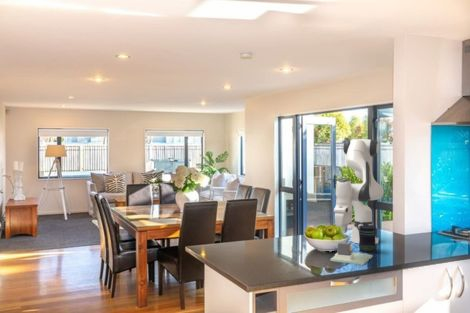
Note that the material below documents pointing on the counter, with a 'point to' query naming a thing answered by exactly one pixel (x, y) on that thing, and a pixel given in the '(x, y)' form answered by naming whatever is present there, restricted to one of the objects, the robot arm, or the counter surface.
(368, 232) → the storage jar
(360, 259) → the board
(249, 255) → the counter surface
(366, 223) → the robot arm
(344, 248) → the plug
